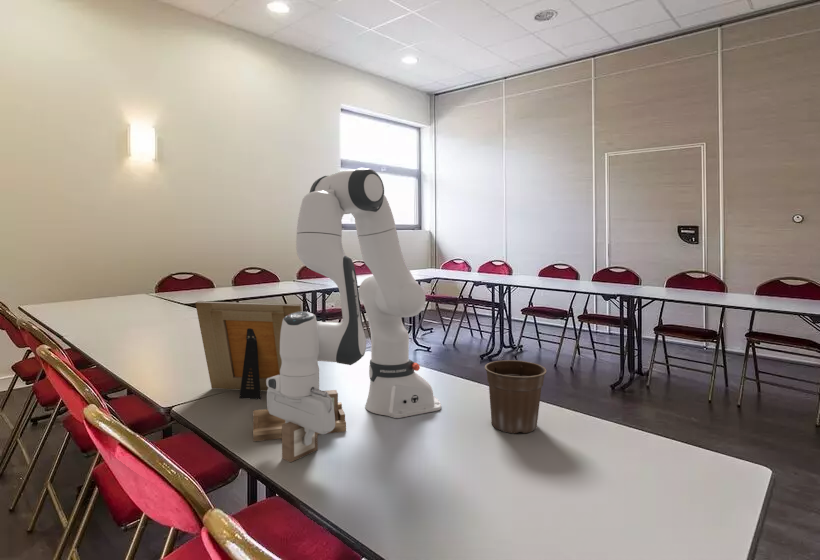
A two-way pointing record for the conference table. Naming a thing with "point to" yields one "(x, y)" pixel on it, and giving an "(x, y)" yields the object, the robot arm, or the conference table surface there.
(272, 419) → the oak rail
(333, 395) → the frame
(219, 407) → the conference table surface
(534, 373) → the plant pot
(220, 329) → the picture frame
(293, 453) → the walnut frame
